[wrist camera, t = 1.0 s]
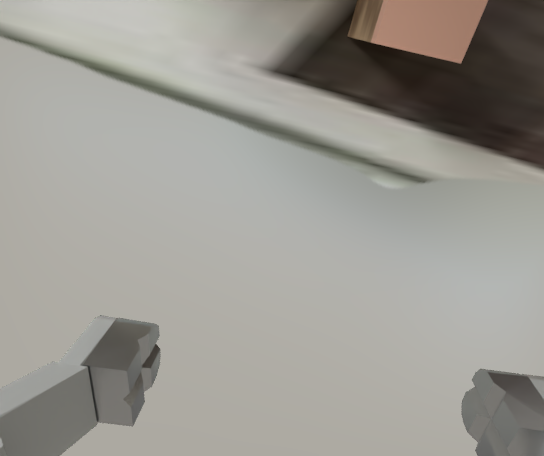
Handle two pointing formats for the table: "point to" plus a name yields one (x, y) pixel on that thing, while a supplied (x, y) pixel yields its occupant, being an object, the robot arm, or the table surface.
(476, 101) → the table surface
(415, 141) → the table surface
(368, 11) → the walnut block
